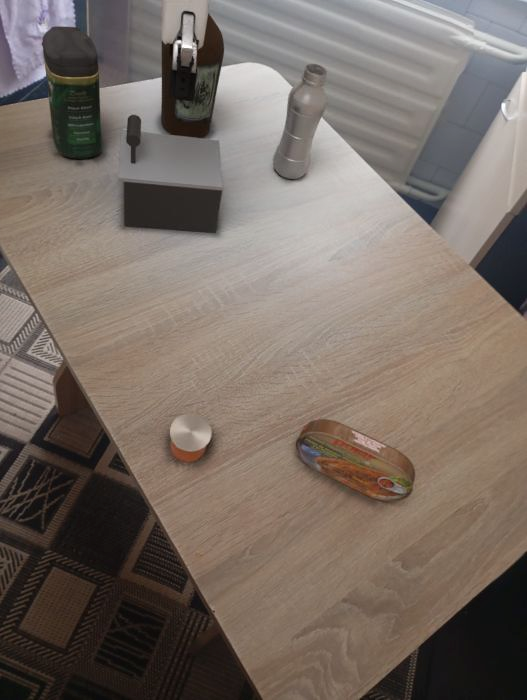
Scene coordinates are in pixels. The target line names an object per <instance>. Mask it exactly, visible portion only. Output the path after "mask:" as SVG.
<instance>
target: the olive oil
mask: <svg viewBox="0 0 527 700" xmlns="http://www.w3.org/2000/svg"><path fill="white" fill-rule="evenodd" d="M169 48H170V43H167V44H164V42H163V41H162V40H161V102H160V103H161V105H160V107H161V108H160V109H161V110H160V112H161V113H160V123H161V126H162V128H163V130H165V132H166V133H167V134H168V135H176V136H185V137H194V138H204V137H206V136H207V135H208V134H209V132H210V130H211V127H212V120H213V114H214V108H215V102H216V98H217V97H216V96H217V92H218V87H219V86H218V85H219V81H220V77H221V76H220V75H221V71H222V66H223V60H224V55H225V42H224V37H223V34H222V30H221V29H220V27H219V26H218V24H217V23H216V21H215V20H214V19H213V17H212V16H211V14H210V13H209V12H208V18H207V24H206V31H205V37H204V42H203V46H202V47H201V48H200V49H197V60H196V69H197V78H196V87H195V96H194V100H193V101H185V100H178V99H171V98H169V96H168V91H169V76H170V65H173V57H171V56H170V55H169Z"/></svg>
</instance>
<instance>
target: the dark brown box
mask: <svg viewBox="0 0 527 700" xmlns="http://www.w3.org/2000/svg"><path fill="white" fill-rule="evenodd" d="M222 196H223V190H211V189H200V188H189V187H178V186H167V185H156V184H145V183H134V182H123V226H124V227H129V228H141V229H154V230H167V231H184V232H195V233H208V234H209V233H210V234H216V232H217V231H216V230H217V224H218V218H219V214H220V208H221V207H220V206H221V201H222Z"/></svg>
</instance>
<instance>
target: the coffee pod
mask: <svg viewBox="0 0 527 700" xmlns="http://www.w3.org/2000/svg"><path fill="white" fill-rule="evenodd" d="M212 434H213V431H212V426H211V424H210V423H209V421H208V420H207V419H206V418H205V417H204V416H202V415H200V414H197V413H193V412H191V413H189V412H188V413H183V414H181V415H179V416H177V417H176V418H175V419H174V420H173V421H172V422H171V425H170V428H169V436H170V451H171V453H172V455H173V456H174V457H175V458H176V459H177V460H180V461H182V462H186V463H189V462H190V463H191V462H195V461H198V460H199V459H201V457H203V455H204V454H205V452H206V449H207V446H208V445H209V443H210V441H211V440H212Z"/></svg>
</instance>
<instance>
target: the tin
mask: <svg viewBox="0 0 527 700" xmlns="http://www.w3.org/2000/svg"><path fill="white" fill-rule="evenodd" d="M294 445H295V446H294V447H295V451H296V454H297V456H298V457H299V458H300V460H301V461H302V462H303V463H305V465H307V466H308V467H309V468H311V469H312V470H314V471H316V472H318V473H319V474H322V475H324V476H326V477H328V478H330V479H332V480H334V481H337V482H339V483H341V484H343V485H344V486H347V487H349V488H351V489H353V490H354V491H357V492H359V493H360V494H363V495H365V496H367V497H369V498H371V499H375V500H378V501H383V502H399V501H403V500H405V499H408V498H409V497H410V496H411V494H412V493H413V489H414V488H413V487H414V483H415V480H416V479H415V478H416V477H415V476H416V469H415V466H414V464H413V462H412V461H411V459H410V458H409V457H408V456H407V455H405V454H404V453H402V452H401V451H400V450H398V449H396V448H394V447H392V446H390V445H388V444H386V443H383V442H382V441H380V440H377V439H376V438H374V437H372V436H369V435H367V434H366V433H363V432H361V431H358V430H357V429H354V428H352V427H350V426H348V425H346V424H344V423H342V422H339V421H336V420H333V419H326V418H319V419H314V420H311V421H308V423H306V424H305V425H304V426H303V427H302V430H301V431H300V434H299V436H298V438H297V439H296V441H295V444H294Z"/></svg>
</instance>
